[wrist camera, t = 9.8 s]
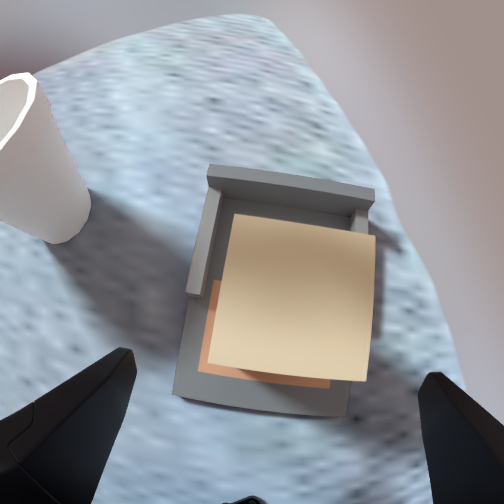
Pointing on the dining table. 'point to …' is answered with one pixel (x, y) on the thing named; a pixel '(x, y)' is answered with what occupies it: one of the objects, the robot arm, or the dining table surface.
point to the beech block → (295, 300)
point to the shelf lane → (211, 272)
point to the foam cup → (37, 166)
